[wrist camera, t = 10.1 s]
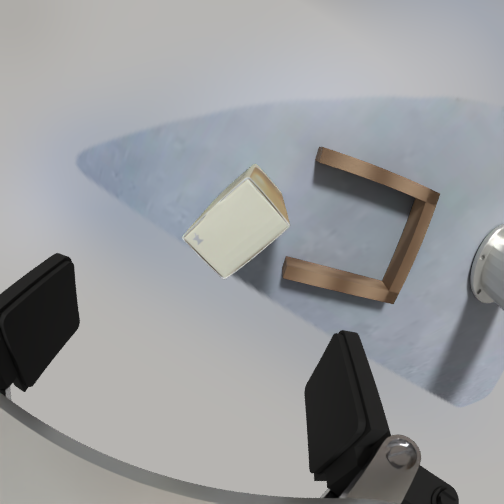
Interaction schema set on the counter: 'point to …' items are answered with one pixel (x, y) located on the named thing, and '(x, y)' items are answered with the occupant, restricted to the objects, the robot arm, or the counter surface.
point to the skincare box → (239, 223)
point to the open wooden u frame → (405, 248)
